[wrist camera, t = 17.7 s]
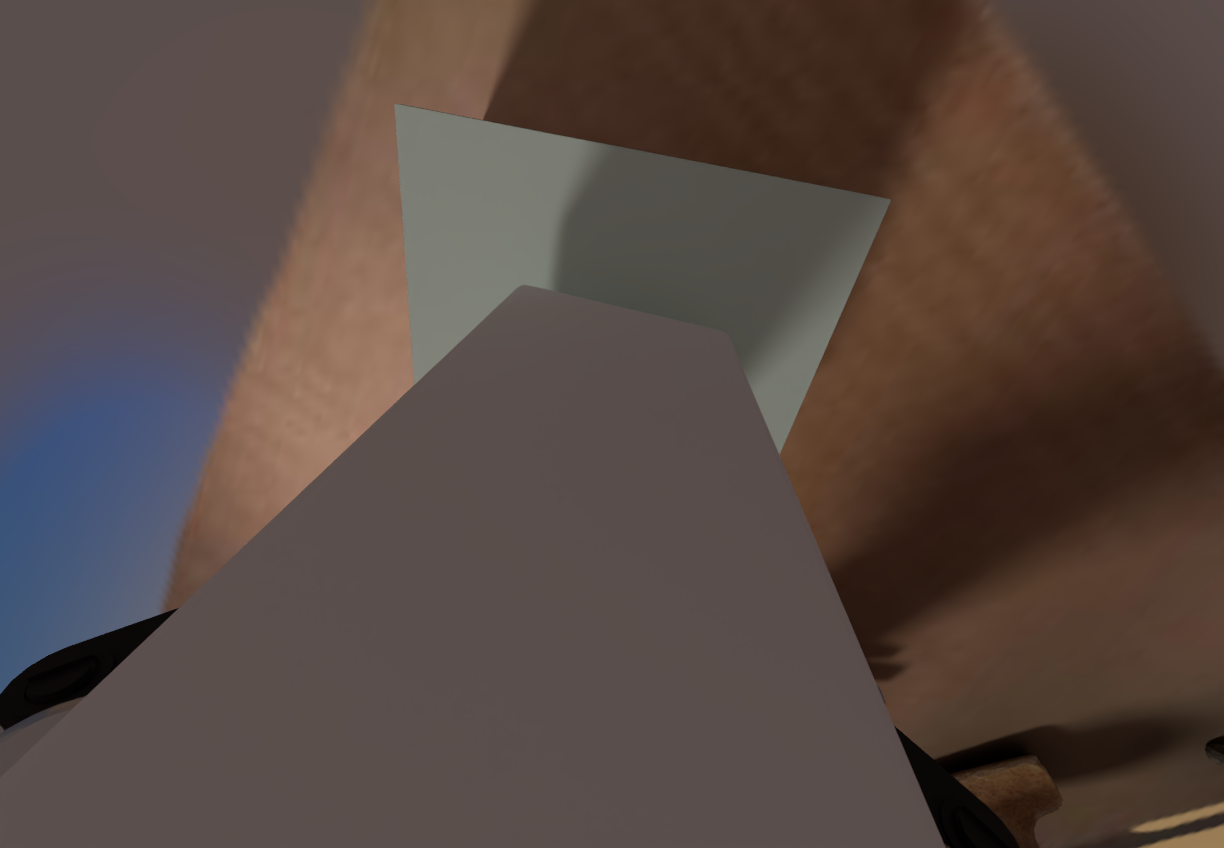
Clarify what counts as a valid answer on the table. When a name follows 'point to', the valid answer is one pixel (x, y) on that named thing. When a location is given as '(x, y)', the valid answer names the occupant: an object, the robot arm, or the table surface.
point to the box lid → (626, 243)
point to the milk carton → (506, 633)
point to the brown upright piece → (1014, 793)
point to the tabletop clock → (1215, 753)
